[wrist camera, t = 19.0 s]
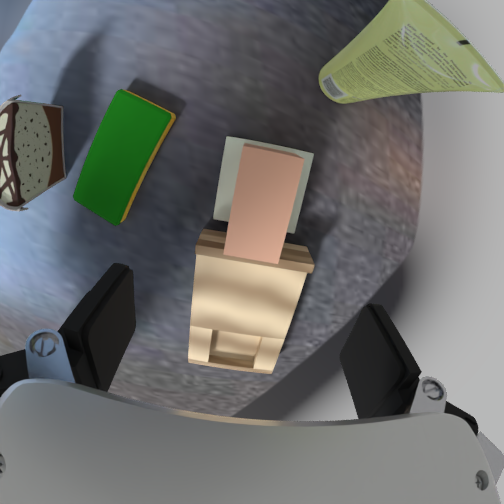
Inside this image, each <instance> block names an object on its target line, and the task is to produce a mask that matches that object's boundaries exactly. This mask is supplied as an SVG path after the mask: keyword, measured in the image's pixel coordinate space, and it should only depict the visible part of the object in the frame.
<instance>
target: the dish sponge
mask: <svg viewBox="0 0 504 504" xmlns="http://www.w3.org/2000/svg"><path fill="white" fill-rule="evenodd" d="M175 119H176V116H175V114H174V113H172V112H170V111H168V110H166V109H164V108H162V107H160V106H158V105H156V104H154V103H152V102H150V101H148V100H146V99H144V98H142V97H140V96H138V95H136V94H134V93H132V92H130V91H127V90H122V89H120V90H118V91H117V92H116V94H115V96H114V98H113V100H112V102H111V104H110V106H109V108H108V110H107V112H106V114H105V116H104V118H103V120H102V122H101V124H100V126H99V129H98V131H97V133H96V135H95V138H94V140H93V143H92V145H91V147H90V150H89V152H88V155H87V157H86V160H85V163H84V165H83V168H82V171H81V174H80V177H79V179H78V182H77V185H76V189H75V192H74V195H73V198H74V200H75V201H77V202H78V203H80V204H81V205H83V206H84V207H86V208H88V209H89V210H91V211H92V212H94V213H95V214H97V215H99V216H100V217H102V218H103V219H105V220H107V221H108V222H110V223H112V224H113V225H115V226H116V225H119V224H120V223H121V222H123V221H124V220H125V219H126V216H127V214H128V212H129V209H130V207H131V205H132V202H133V200H134V198H135V196H136V194H137V191H138V189H139V187H140V185H141V183H142V181H143V179H144V177H145V175H146V173H147V171H148V169H149V167H150V165H151V163H152V161H153V159H154V157H155V155H156V153H157V151H158V149H159V147H160V146H161V144H162V142H163V140H164V138H165V136H166V135H167V133H168V131H169V129H170V128H171V126H172V124H173V122H174V121H175Z"/></svg>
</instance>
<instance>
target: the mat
mask: <svg viewBox="0 0 504 504" xmlns="http://www.w3.org/2000/svg"><path fill="white" fill-rule="evenodd" d="M244 143H247V144H253V145H258V146H263V147H268V148H273V149H277V150H282V151H286V152H291V153H295V154H297V155H299V156H300V157H302V158H304V159H305V160H304V164H303V168H302V172H301V176H300V180H299V185H298V189H297V193H296V197H295V201H294V205H293V209H292V213H291V217H290V221H289V224H288V228H287V232H288V233H294V232H295V229H296V225H297V221H298V217H299V213H300V209H301V205H302V201H303V197H304V193H305V189H306V185H307V181H308V177H309V173H310V168H311V164H312V160H313V156H314V154H313V153H309V152H305V151H301V150H297V149H292V148H288V147H283V146H279V145H274V144H269V143H264V142H259V141H253V140H248V139H242V138H236V137H230V136H227V137H226V142H225V148H224V154H223V159H222V165H221V171H220V177H219V183H218V190H217V196H216V202H215V209H214V216H213V219H215V220H221V221H227V222H229V218H230V213H231V207H232V201H233V196H234V191H235V185H236V180H237V174H238V169H239V164H240V159H241V154H242V149H243V145H244Z"/></svg>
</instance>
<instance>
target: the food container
mask: <svg viewBox="0 0 504 504" xmlns="http://www.w3.org/2000/svg"><path fill="white" fill-rule="evenodd" d="M20 96H21V95H18V96H15V97H12V98H10V99H9V100H7V101H6V102H4V103H3V104H2V105H1V106H0V205H1V206H2V207H3V208H5V209H7V210H11V211H23V210H27V209H28V208H23V206H24V205H25V204H27V203H28V202H30V201H31V200H33V199H34V198H36V197H37V196H39V195H40V194H42V193H43V192H45V191H46V190H48V189H49V188H51V187H53V186H54V185H56V184H57V183H59V182H61V181H62V180H64V179H66V171H65V159H64V141H63V106H58V105H51V104H45V103H37V102H29V101H21V100H16V99H17V98H19V97H20Z"/></svg>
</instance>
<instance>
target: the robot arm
mask: <svg viewBox="0 0 504 504" xmlns="http://www.w3.org/2000/svg"><path fill="white" fill-rule="evenodd" d="M135 327H136V319H135V304H134V285H133V271H132V270H130V269H129V266H128V265H124V264H119V263H114V264H113V265H112V266H111V267H110V268H109V269H108V270H107V272H106V273H105V274H104V275H103V276H102V278H101V279H100V280H99V281H98V282H97V284H96V285H95V286H94V287H93V288H92V290H91V291H89V292H88V293H87V294H86V295H85V296H84V298H83V299H82V300H81V301H80V303H79V304H78V305H77V306H76V308H75V309H74V310H73V312H72V313H71V314H70V316H69V317H68V318H67V319H66V321H65V322H64V324H63V325H62V326H61V328H60V329H59V330H58V332H57V331H55V330H53V329H40V330H37V331H35V332H34V333H32V334H31V335H30V336H29V337H28V339H27V341H26V344H25V349H24V350H20V351H17V352H13V353H9V354H6V355H2V356H0V504H501V502H500V498H499V495H498V491H497V488H496V483H497V481H498V479H499V477H500V475H501V472H502V470H503V468H504V455H503V454H502V452H501V451H500V450H499V449H498V448H497V447H496V446H495V445H494V444H493V443H492V442H491V441H490V440H489V439H488V438H487V437H485V435H484V434H482V432H479V433H478V425H477V422H476V420H475V418H474V417H473V416H471V415H469V414H468V413H466V412H464V411H463V410H461V409H459V408H457V407H455V406H454V405H452V404H450V403H449V402H447V401H446V397H447V392H446V389H445V387H444V386H443V385H442V383H441V382H439V381H438V380H437V379H435V378H432V377H423V378H422V379H419V377H418V376H419V375H420V374H421V370H420V368H419V366H418V365H417V363H416V361H415V359H414V357H413V356H412V354H411V352H410V350H409V349H408V347H407V345H406V344H405V342H404V340H403V339H402V337H401V335H400V333H399V332H398V330H397V329H396V327H395V325H394V324H393V322H392V320H391V319H390V317H389V316H388V314H387V312H386V311H385V309H384V308H383V306H382V305H379V304H368V305H367V306H366V307H363V309H362V311H361V313H360V315H359V317H358V319H357V321H356V323H355V325H354V327H353V329H352V331H351V333H350V335H349V337H348V339H347V341H346V343H345V345H344V347H343V349H342V350H341V353H340V361H341V364H342V367H343V370H344V374H345V376H346V380H347V383H348V386H349V389H350V392H351V396H352V399H353V402H354V405H355V409H356V412H357V415H358V418H359V419H354V420H341V421H271V420H255V419H242V418H233V417H224V416H216V415H209V414H202V413H196V412H190V411H184V410H179V409H174V408H169V407H164V406H159V405H155V404H151V403H146V402H142V401H138V400H134V399H130V398H126V397H123V396H119V395H115V394H112V393H108V392H107V391H108V389H109V387H110V385H111V382H112V380H113V378H114V375H115V373H116V371H117V368H118V366H119V364H120V362H121V359H122V357H123V355H124V353H125V351H126V348H127V346H128V344H129V342H130V340H131V338H132V335H133V333H134V331H135Z"/></svg>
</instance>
